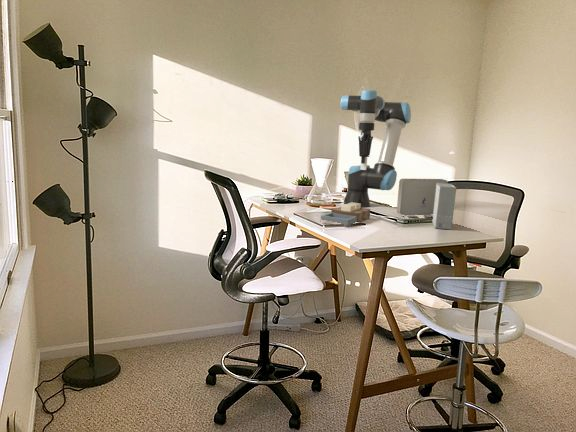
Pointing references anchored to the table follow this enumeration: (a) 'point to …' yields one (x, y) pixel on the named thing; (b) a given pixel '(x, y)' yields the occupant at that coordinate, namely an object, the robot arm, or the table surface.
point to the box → (340, 218)
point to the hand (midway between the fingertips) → (363, 169)
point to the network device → (417, 196)
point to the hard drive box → (444, 206)
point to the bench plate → (354, 213)
